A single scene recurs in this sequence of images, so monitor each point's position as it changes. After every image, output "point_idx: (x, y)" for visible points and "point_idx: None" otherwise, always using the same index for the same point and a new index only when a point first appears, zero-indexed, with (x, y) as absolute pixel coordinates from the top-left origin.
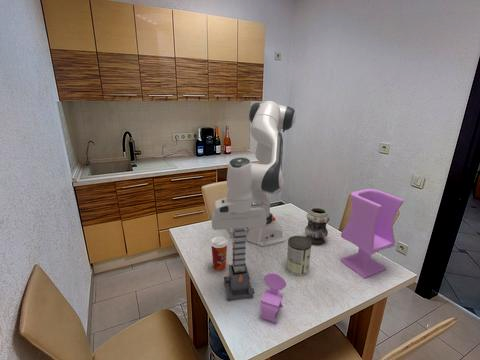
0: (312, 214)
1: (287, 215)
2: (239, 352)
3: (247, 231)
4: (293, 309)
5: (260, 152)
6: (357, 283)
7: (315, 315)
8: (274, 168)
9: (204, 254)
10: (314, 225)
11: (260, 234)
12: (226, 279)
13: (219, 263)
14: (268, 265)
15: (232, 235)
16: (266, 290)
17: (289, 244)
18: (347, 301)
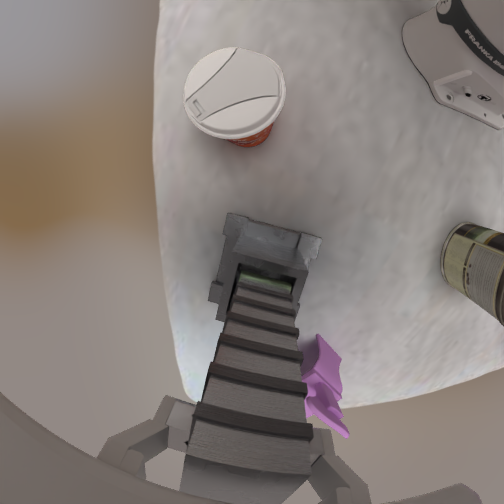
0: None
1: None
2: (197, 399)
3: (315, 475)
4: (355, 372)
5: None
6: (495, 345)
7: (379, 392)
8: None
9: (220, 43)
10: None
11: (458, 77)
12: (232, 230)
13: (234, 143)
14: (412, 201)
15: (176, 445)
16: (309, 378)
17: (502, 284)
18: (448, 378)
